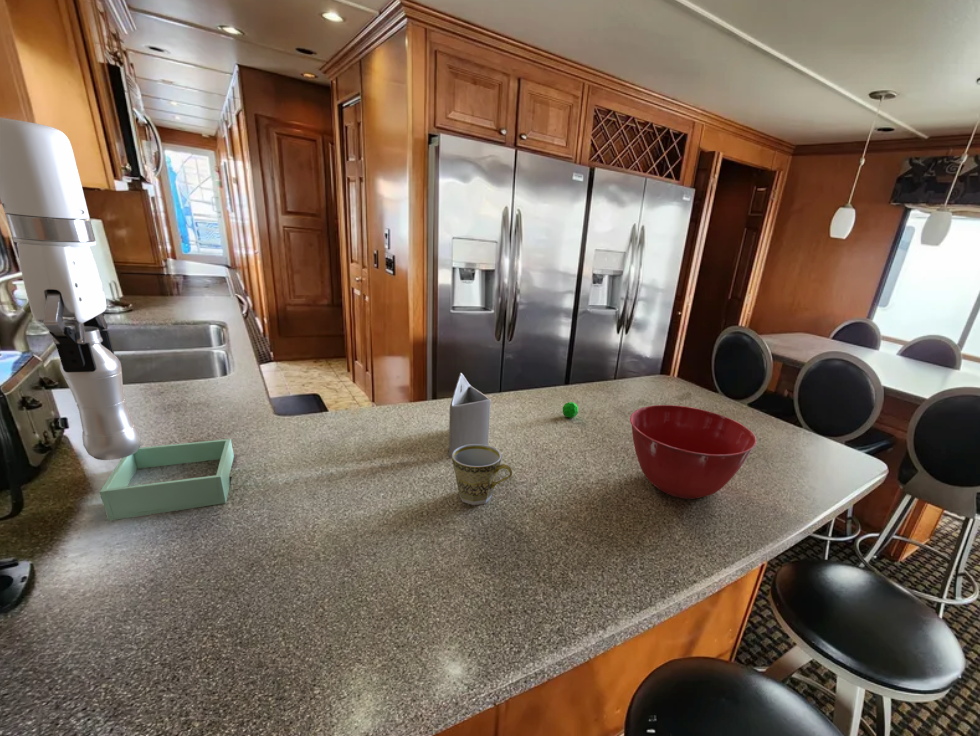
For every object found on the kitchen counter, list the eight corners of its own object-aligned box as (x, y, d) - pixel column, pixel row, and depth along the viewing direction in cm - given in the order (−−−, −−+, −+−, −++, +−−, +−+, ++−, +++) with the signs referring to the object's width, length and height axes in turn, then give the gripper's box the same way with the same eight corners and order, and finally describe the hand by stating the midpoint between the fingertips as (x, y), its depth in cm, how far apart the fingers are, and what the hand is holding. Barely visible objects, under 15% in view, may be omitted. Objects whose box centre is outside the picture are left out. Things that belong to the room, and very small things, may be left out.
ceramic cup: (441, 501, 94) (442, 458, 90) (466, 479, 103) (468, 439, 99) (498, 519, 90) (501, 475, 86) (519, 495, 99) (522, 454, 95)
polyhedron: (562, 413, 146) (564, 399, 144) (578, 415, 146) (579, 401, 144) (560, 418, 142) (562, 404, 140) (576, 421, 141) (578, 406, 139)
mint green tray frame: (108, 520, 78) (99, 491, 76) (135, 474, 92) (128, 448, 90) (226, 503, 86) (220, 476, 84) (235, 462, 100) (230, 438, 97)
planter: (480, 462, 111) (483, 387, 104) (448, 458, 111) (449, 382, 104) (495, 435, 126) (498, 367, 119) (466, 431, 126) (468, 363, 119)
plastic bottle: (96, 470, 68) (55, 337, 60) (81, 454, 71) (40, 326, 63) (151, 455, 73) (120, 331, 65) (134, 441, 76) (103, 322, 68)
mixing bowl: (597, 477, 110) (606, 418, 104) (659, 446, 130) (669, 396, 124) (705, 535, 93) (723, 468, 87) (757, 489, 113) (775, 432, 107)
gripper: (44, 225, 65) (80, 348, 71) (-29, 232, 51) (24, 384, 57) (114, 230, 68) (142, 347, 75) (64, 238, 54) (104, 382, 61)
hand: (90, 362), depth 66 cm, fingers closed on plastic bottle, 6 cm apart
